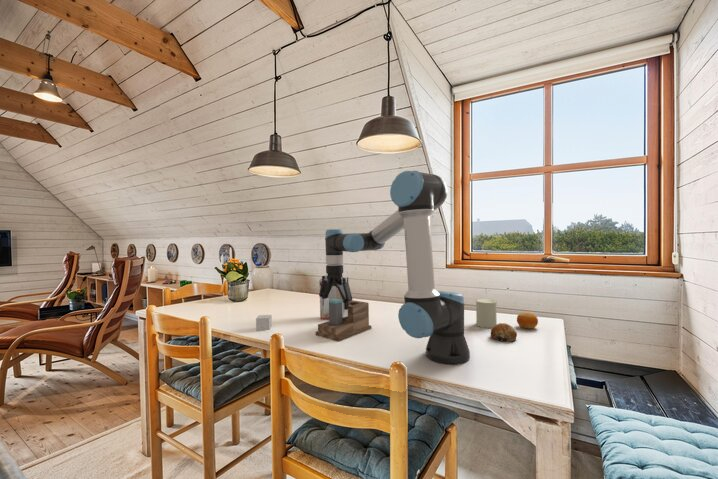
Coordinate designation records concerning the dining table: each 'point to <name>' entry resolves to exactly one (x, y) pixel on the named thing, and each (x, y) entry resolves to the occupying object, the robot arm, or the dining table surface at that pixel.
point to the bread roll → (503, 332)
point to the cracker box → (332, 295)
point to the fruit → (527, 320)
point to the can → (486, 313)
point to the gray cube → (263, 322)
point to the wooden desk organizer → (348, 323)
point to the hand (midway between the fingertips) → (335, 314)
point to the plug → (335, 312)
